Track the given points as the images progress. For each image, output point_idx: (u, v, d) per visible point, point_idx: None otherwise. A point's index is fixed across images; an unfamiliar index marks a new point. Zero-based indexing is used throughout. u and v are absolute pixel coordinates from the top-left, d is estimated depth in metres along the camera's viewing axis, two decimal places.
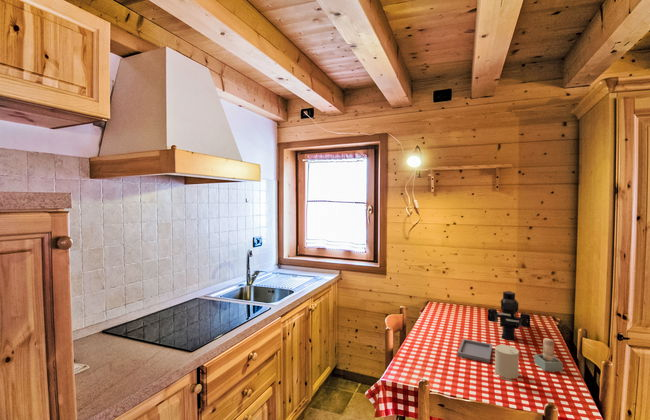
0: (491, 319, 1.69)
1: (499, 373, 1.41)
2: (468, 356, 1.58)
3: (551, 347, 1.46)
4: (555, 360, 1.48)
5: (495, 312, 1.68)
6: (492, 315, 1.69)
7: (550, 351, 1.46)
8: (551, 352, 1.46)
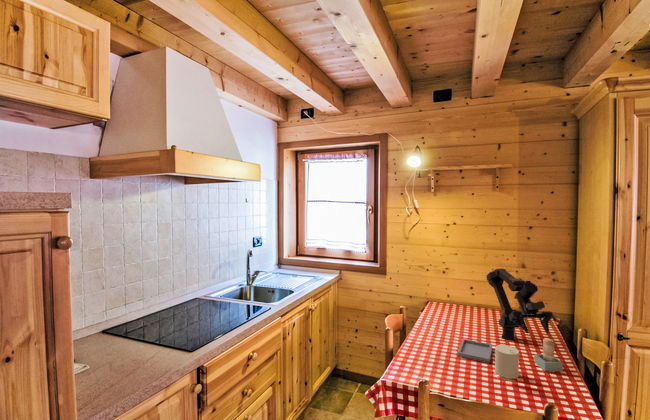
0: (515, 321, 1.61)
1: (499, 373, 1.41)
2: (468, 356, 1.58)
3: (551, 347, 1.46)
4: (555, 360, 1.48)
5: (522, 318, 1.58)
6: (517, 319, 1.60)
7: (550, 351, 1.46)
8: (551, 352, 1.46)
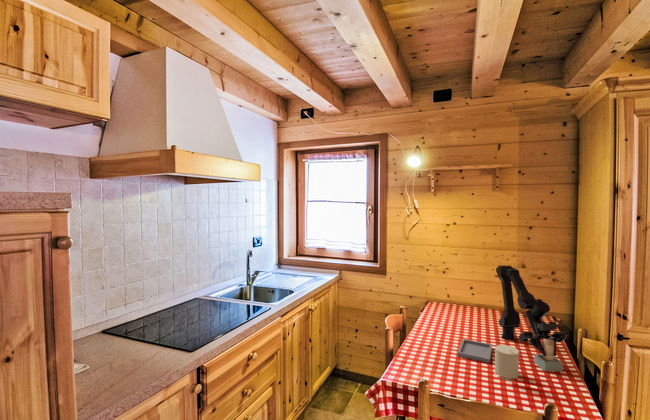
0: (531, 342, 1.53)
1: (499, 373, 1.41)
2: (468, 356, 1.58)
3: (551, 347, 1.46)
4: (555, 360, 1.48)
5: (539, 340, 1.49)
6: (534, 341, 1.51)
7: (550, 351, 1.46)
8: (551, 352, 1.46)
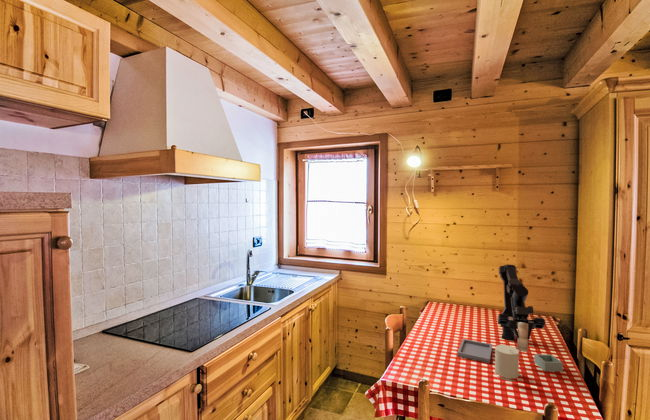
0: (508, 325, 1.56)
1: (499, 373, 1.41)
2: (468, 356, 1.58)
3: (523, 330, 1.48)
4: (555, 360, 1.48)
5: (513, 322, 1.52)
6: (509, 323, 1.54)
7: (522, 334, 1.48)
8: (523, 335, 1.48)
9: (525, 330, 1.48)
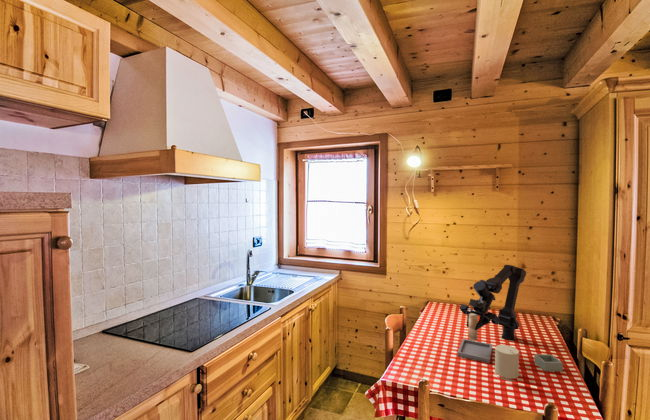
0: None
1: (499, 373, 1.41)
2: (468, 356, 1.58)
3: (470, 320, 1.62)
4: (555, 360, 1.48)
5: (468, 313, 1.67)
6: None
7: (470, 324, 1.62)
8: (470, 324, 1.62)
9: (472, 320, 1.62)
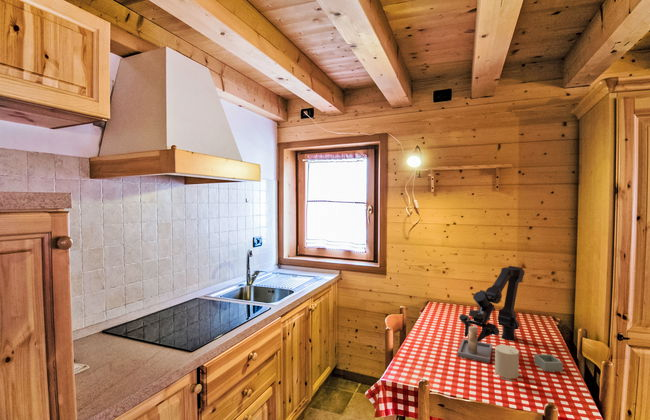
0: None
1: (499, 373, 1.41)
2: (468, 356, 1.58)
3: (470, 332, 1.63)
4: (555, 360, 1.48)
5: (466, 323, 1.68)
6: None
7: (469, 336, 1.63)
8: (470, 337, 1.63)
9: (472, 333, 1.62)
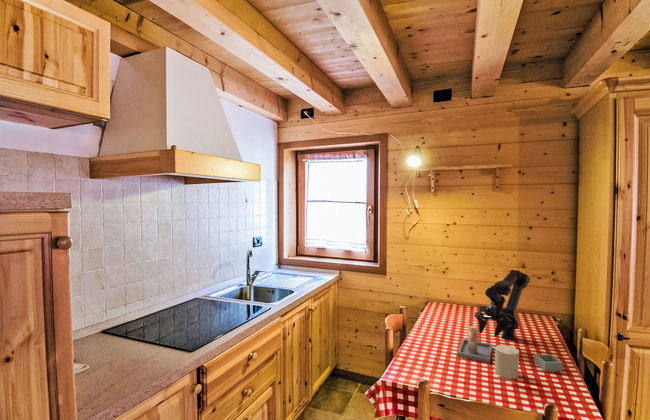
0: None
1: (499, 373, 1.41)
2: (468, 356, 1.58)
3: (470, 333, 1.63)
4: (555, 360, 1.48)
5: (479, 319, 1.73)
6: None
7: (470, 336, 1.63)
8: (470, 337, 1.63)
9: (472, 333, 1.62)
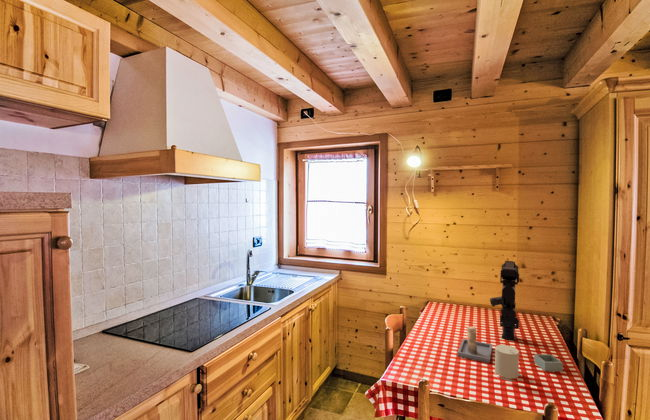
0: None
1: (499, 373, 1.41)
2: (468, 356, 1.58)
3: (469, 334, 1.62)
4: (555, 360, 1.48)
5: None
6: None
7: (469, 338, 1.62)
8: (470, 338, 1.62)
9: (471, 334, 1.61)
